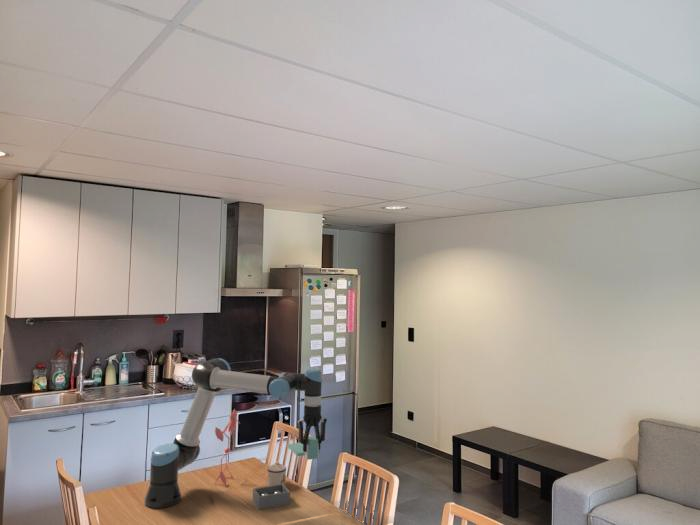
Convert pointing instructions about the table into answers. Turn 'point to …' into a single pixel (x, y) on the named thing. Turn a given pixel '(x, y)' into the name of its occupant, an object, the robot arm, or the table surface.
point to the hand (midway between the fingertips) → (311, 458)
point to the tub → (271, 496)
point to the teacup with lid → (276, 474)
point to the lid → (313, 448)
